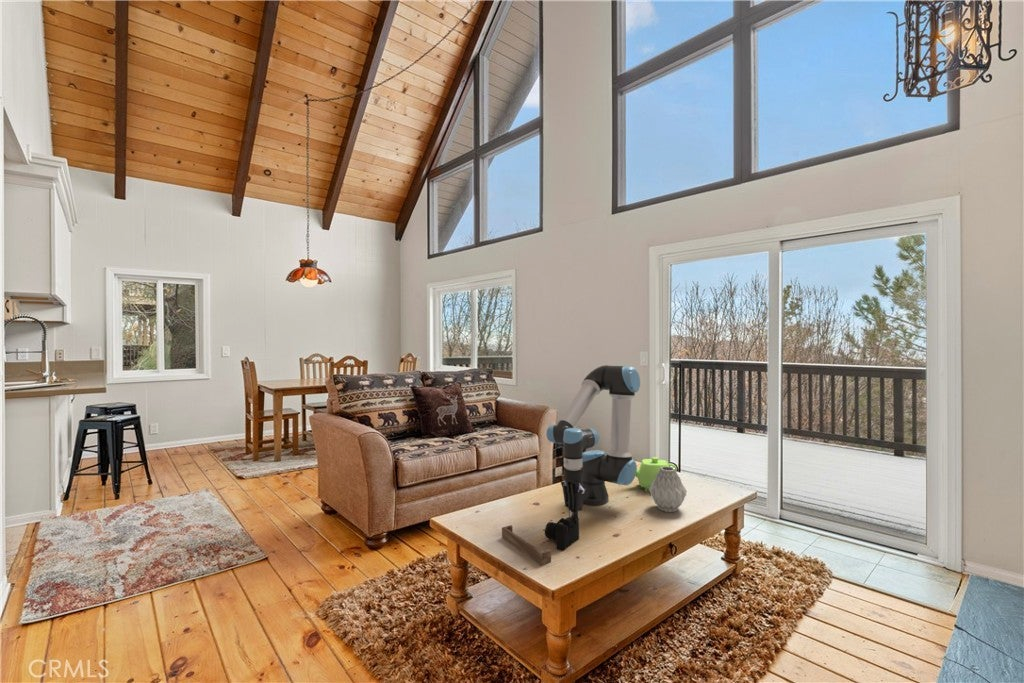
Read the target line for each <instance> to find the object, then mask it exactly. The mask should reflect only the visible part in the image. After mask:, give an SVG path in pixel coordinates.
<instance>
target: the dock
mask: <svg viewBox="0 0 1024 683" xmlns="http://www.w3.org/2000/svg"><path fill="white" fill-rule="evenodd" d="M513 530H514V529H513V525H511V524H510V525H507V526H503V527H501V538H502V539H503V540H505V541H506V542H508V543H509V544H510V545H512V547H513V546H514V547H515V548H516V549H518V550H519V551H520V552H522V553H523V554H524V555H526V556H527V557H529V558H530V559H532V560H533V561H535V562H536V563H537V564H538V565H540V566H544V565H545V564H546V565H547V564H549V563H551V562H552V553H551V552H552V550H550V549H546V550H540V549H538V548H537V547H536V546H534V545H533V544H532V543H530V542H528V541H526V540H525V539H524V538H522V537H521V536H520V535H518V534H516V533H514V532H513Z"/></svg>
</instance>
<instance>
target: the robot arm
mask: <svg viewBox="0 0 1024 683" xmlns="http://www.w3.org/2000/svg"><path fill="white" fill-rule="evenodd" d="M640 388H641V378H640V374H639V372H638V370H637V369H636V368H635V367H634V366H626V365H607V364H605V365H601V366H598V367H596V368H594V369H593V370H592V371H590V372H589V373H588V374H587V375H586V376H585V377H584V379H583V380H582V381H581V387H580V389H579V390H578V392H577V394H576V395H575V396H574V398H573V399H572V400H571V403H570V404H569V405H568V407H567V408H566V410H565V411H564V413H563V414H562V416H561V418H560V419H559V421H558V422H557V424H551V425H549V426H548V427H547V429H546V433H545V434H546V439H547V441H548V442H551V443H554V444H558V445H563V467H564V468H563V478H564V480H563V481H561V482H560V485H561V488H562V494H563V500H564V506H565V507H567V509H568V517H571V516H572V515H578V516H579V512H580V511H582V510H583V505H589V506H601V505H604V504H607V503H608V502H609V500H610V498H609V493H608V489H607V487H606V482H607V483H611V484H616V485H619V486H629V485H631V484H632V482H633V481H634V480H635V478H636V476H635V475H636V471H637V469H638V465H637V462H636V461H635V460H634V459H633V454H632V453H631V452H630V436H631V434H630V432H631V430H630V429H631V412H632V399H633V398H635V395H636V393H637V392H639V391H640ZM604 390H605V391H606V390H607V391H608V395H609V396H610V397H611V417H610V418H611V420H610V438H609V439H610V443H609V450H608V451H607V452H606V453H605V451H604V450H599V449H597V450H595V449H593V450H589V449H590V448H593V447H594V446H596V445H597V444H599V442H600V435H599V433H598V432H597V431H596V429H594V428H585V429H581V428H577V426H578V424H579V423H580V421H581V420H582V418H583V416H584V415H585V413H586V412H587V411H588V408H589V406H590V405H591V403H592V402H593V401H594V399H595V397H596V396H598V395H599V394H600V393H601V392H602V391H604ZM587 449H588V450H587ZM584 450H587V451H584ZM583 451H584V452H583ZM632 459H633V460H632Z"/></svg>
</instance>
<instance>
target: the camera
mask: <svg viewBox="0 0 1024 683" xmlns="http://www.w3.org/2000/svg"><path fill="white" fill-rule="evenodd" d="M579 520H580V518H579V514H578V515H572V516H571V517H569V516H568V517H566V518H563V517H561V518H560V519H559V520H558V521H557V522H553V521H552V522H551V521H549V522H547V524H545V527H544V536H545V538H546V539H549V540H550V541H554V542H555V545H556V546H555V549H556V550H559V551H565V550H566V549H568V548H569V547H570V546H572V545H573V544H574V543H576V542H577V541H578V540H579V539H580V521H579Z"/></svg>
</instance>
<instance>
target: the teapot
mask: <svg viewBox="0 0 1024 683" xmlns="http://www.w3.org/2000/svg"><path fill="white" fill-rule="evenodd" d="M632 460H634V459H633V458H632ZM661 467H672V468H674V469H675V471H676V472H677V470H678V468H677V466H676V464H674V463H668V461H667V460H664V459H659V457H657V456H652V457H651V458H644V459H642V461H641V463H640V466H639V469H638V468H637V471H636V475H635V478H637V481H638V483H639V484H640V486H641V487H642V488H644V491H645V492H650V490H649V487H650V486H651V484H652V482H653V481H654V479H655V476H656V474H657V473H658V472H659V470H660V468H661ZM677 473H678V472H677Z"/></svg>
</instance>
